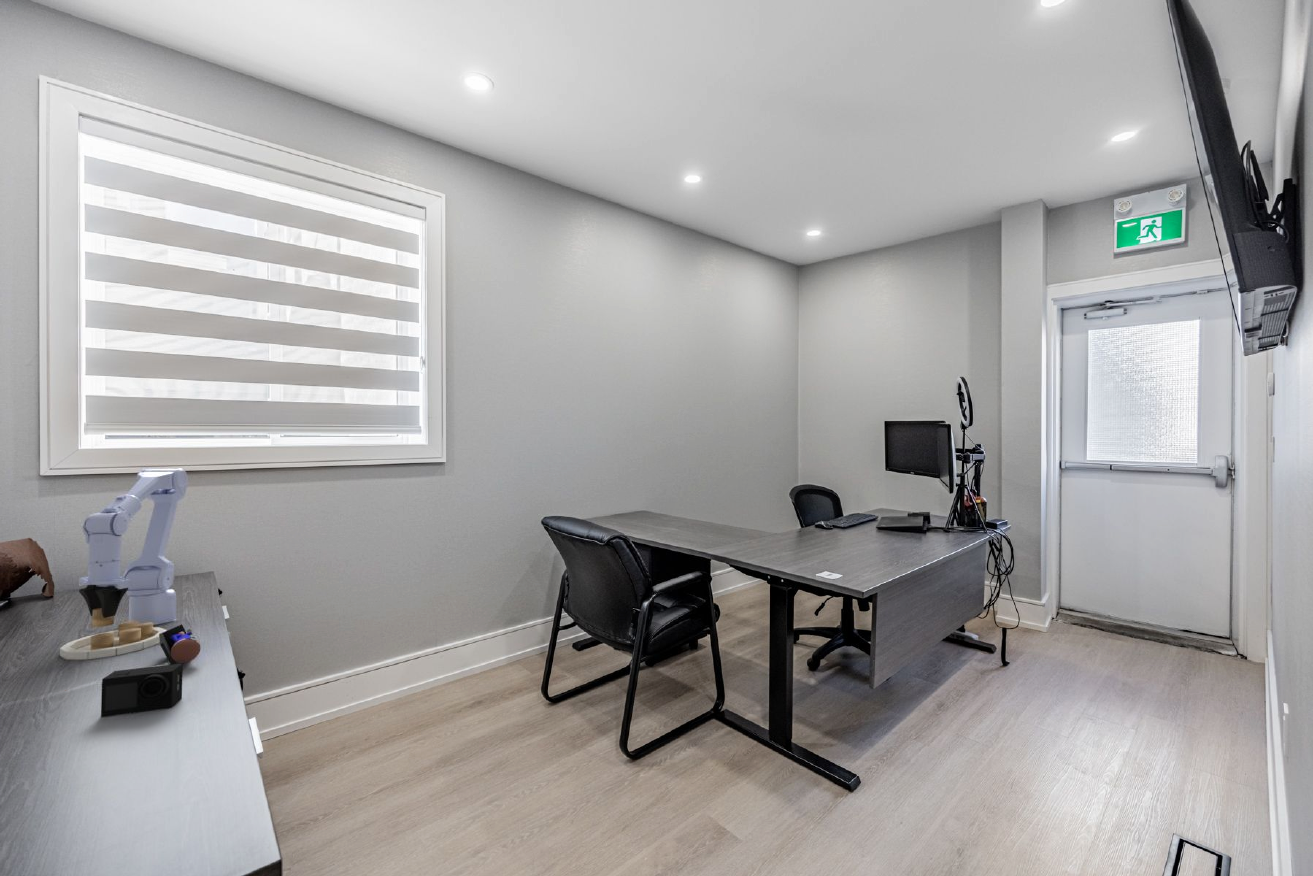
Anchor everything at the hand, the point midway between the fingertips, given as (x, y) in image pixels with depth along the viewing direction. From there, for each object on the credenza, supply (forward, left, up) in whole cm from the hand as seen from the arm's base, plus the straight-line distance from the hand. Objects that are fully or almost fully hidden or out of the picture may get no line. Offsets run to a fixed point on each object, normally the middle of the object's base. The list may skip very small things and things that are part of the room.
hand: (103, 615), depth 135 cm
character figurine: (-5, +30, -8) cm, 31 cm away
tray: (-1, +5, -7) cm, 9 cm away
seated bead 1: (+2, +8, -7) cm, 11 cm away
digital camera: (+9, +52, -8) cm, 54 cm away
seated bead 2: (-2, +9, -7) cm, 12 cm away
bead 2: (-5, +1, -7) cm, 8 cm away
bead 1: (0, 0, -2) cm, 2 cm away
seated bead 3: (-6, +6, -7) cm, 11 cm away
